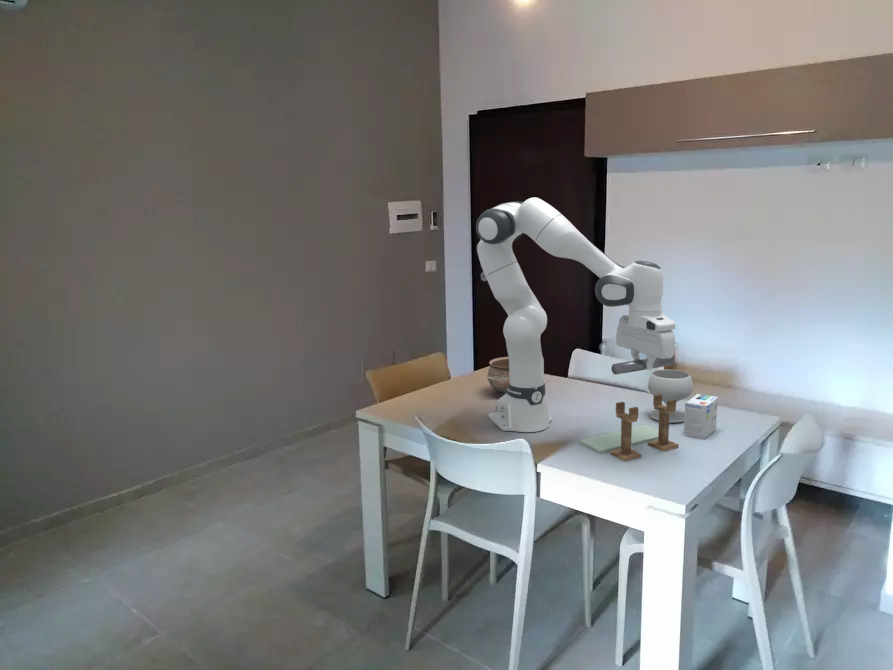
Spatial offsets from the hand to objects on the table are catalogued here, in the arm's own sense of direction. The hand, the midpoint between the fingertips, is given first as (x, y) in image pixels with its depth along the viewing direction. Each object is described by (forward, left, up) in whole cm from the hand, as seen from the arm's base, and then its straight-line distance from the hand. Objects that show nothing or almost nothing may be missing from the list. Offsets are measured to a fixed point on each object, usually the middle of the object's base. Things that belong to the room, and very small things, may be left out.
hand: (642, 367), depth 187 cm
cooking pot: (-67, -2, -25) cm, 72 cm away
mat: (-8, +1, -25) cm, 26 cm away
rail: (0, 0, -1) cm, 1 cm away
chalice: (-16, +27, -25) cm, 40 cm away
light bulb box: (-1, +25, -25) cm, 35 cm away
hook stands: (+2, 0, -25) cm, 25 cm away
